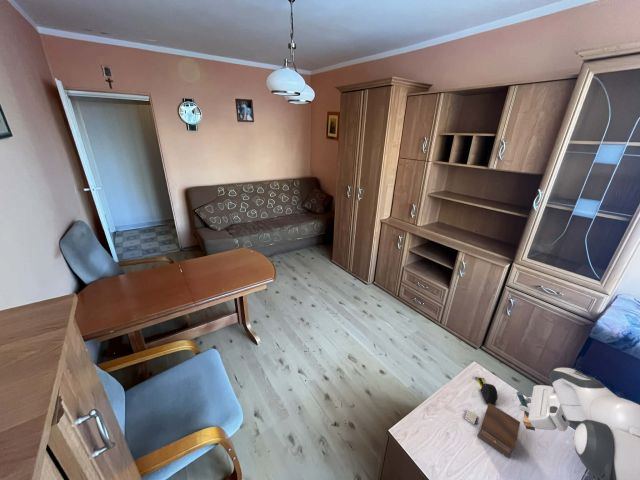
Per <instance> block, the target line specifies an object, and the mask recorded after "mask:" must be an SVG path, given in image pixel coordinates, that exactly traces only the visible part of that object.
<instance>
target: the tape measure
mask: <svg viewBox="0 0 640 480" xmlns="http://www.w3.org/2000/svg"><path fill="white" fill-rule="evenodd" d="M475 379H476V380H477V382H478V384H479V386H480V393H481V395H482V398H483V401H484V403H485V404H486V405H488V404H489V403H490V404H492V405H494V406H495V405H496V403H497V400H498V397H499V396H498V389H497V388H496V386H495V385H494V384H490V383H488V382H487V383H486V382H485V380H484V377H483V378H482V377H478V376H475Z"/></svg>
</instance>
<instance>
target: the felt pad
mask: <svg viewBox="0 0 640 480" xmlns="http://www.w3.org/2000/svg"><path fill="white" fill-rule="evenodd" d="M477 417H478V416H477V415H476V414H475V413H473V412H472V411H470V410H467V411H466V414H465V417H464V419H465V420H466V421H468V422H470V423H471V424H472V425H475V423H476V420H477Z"/></svg>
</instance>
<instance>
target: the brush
mask: <svg viewBox="0 0 640 480" xmlns="http://www.w3.org/2000/svg"><path fill="white" fill-rule="evenodd" d="M516 395H517V398H518V401H519V403H520V404H521V405H522V404H524V406H525V407H528V404H527V403H526V401H525V396H524V394H523V392H522V391H518V390H517V391H516ZM528 417H529V413H528V412H526V411H523V417H522V423H523V425H524V427H525V429H526V430H530V431H536V428H534V427H533V426H532V425H531V423H530V421H529V419H528Z"/></svg>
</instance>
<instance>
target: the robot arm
mask: <svg viewBox="0 0 640 480" xmlns="http://www.w3.org/2000/svg"><path fill="white" fill-rule="evenodd" d="M548 379H549V381H550V383H551V385H552V386H551V385H544V384H536V385H534V386H533V389H532V393H531V396H527V397H524V399H525V401H526V403H527V406H528V404H530V405H529V406H528V407H525V406H524V404H522V405H521V403H520V404H519V406H518V408H519V410H520V411H522V412H524V411H526V412H528V413H529V417H528V419H529V421H530V423H531V425H532V426H533V427H534V428H535V430H536V429H537V430H544V431H554V430H555V431H556V430H558V431H560V432H566V431H567V430H568V428H569V426H570V425H572V426H574V427H575V430H574V433H573V443H574V450H575V453H576V455H577V457H578V458H579V460H580V461H581V463H582V465H583V466H584V467H585V468H586V469H587V471H589V473H591V476H592V479H593V480H640V404H639V403H636V402H634V401H632V400H629V399H626V398H623V397H619V396H617V395H616V394H615V393H613V392H612V391H611V390H610V389H609V388H608V387H606V385H605V384H604V383H602V382H601V381H600V380H597V379H596V378H594V377H591V376H588V375H586V374H584V373H582V372H581V371H579V370H578V369H574V368H571V367H556V368H554V369H551V371H550V372H549V374H548Z"/></svg>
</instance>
